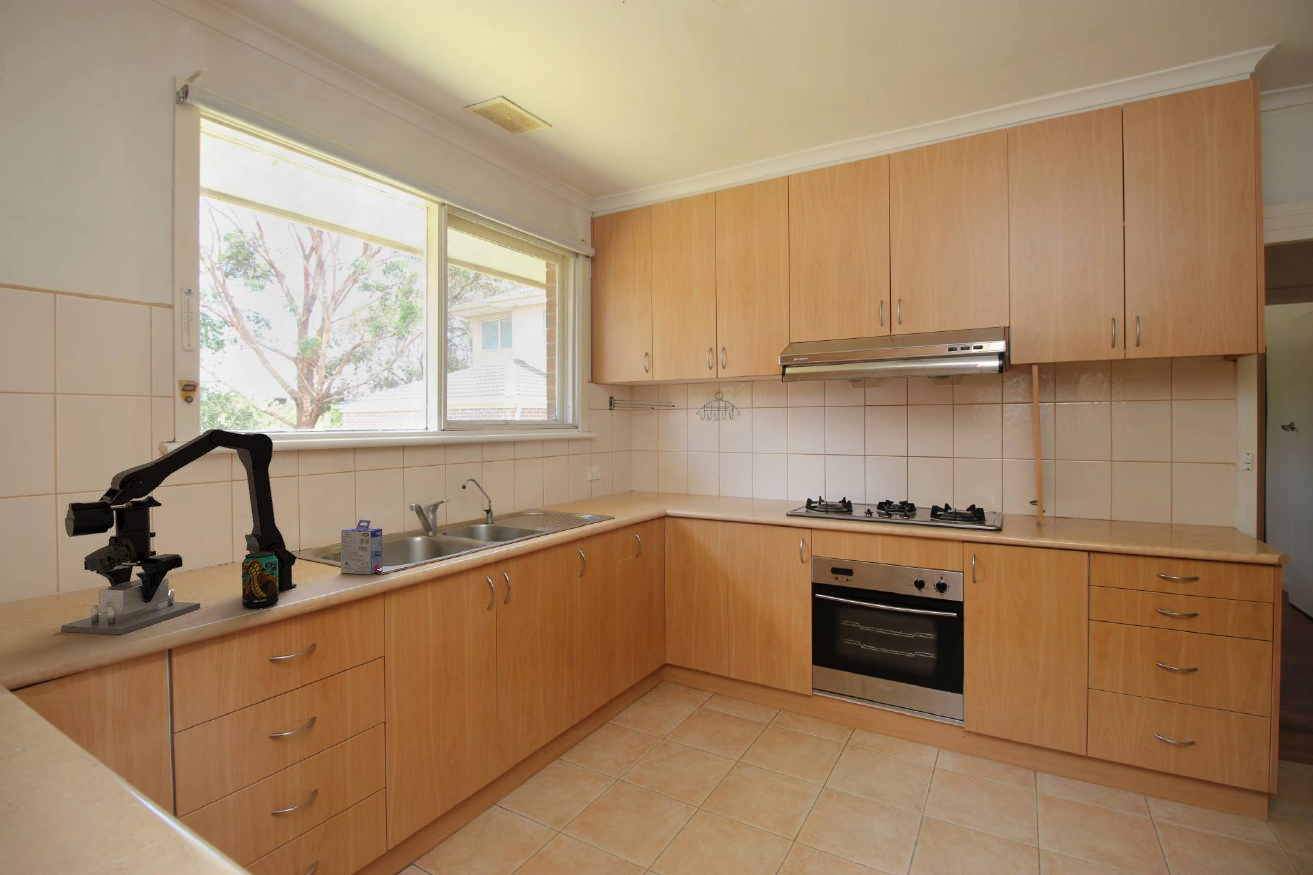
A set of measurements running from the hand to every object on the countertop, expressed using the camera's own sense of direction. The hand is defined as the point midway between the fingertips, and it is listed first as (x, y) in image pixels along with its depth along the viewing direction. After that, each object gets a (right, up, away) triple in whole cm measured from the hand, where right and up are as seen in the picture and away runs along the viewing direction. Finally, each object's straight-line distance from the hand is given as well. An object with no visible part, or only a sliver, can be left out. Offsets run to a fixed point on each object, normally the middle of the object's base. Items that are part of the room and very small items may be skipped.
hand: (135, 601), depth 133 cm
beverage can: (+21, -4, +10) cm, 23 cm away
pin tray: (0, -4, 0) cm, 4 cm away
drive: (0, -1, 0) cm, 1 cm away
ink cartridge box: (+29, -3, +42) cm, 51 cm away
